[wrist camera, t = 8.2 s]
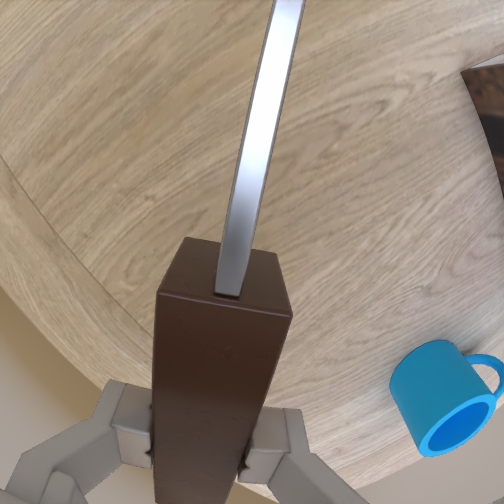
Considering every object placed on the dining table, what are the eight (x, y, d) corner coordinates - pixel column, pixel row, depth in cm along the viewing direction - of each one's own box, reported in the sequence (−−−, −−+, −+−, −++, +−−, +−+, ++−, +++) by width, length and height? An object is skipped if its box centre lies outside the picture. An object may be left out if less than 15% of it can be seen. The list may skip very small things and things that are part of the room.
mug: (390, 410, 29) (415, 467, 22) (388, 358, 26) (422, 422, 19) (479, 369, 28) (513, 414, 21) (488, 314, 26) (534, 359, 18)
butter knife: (165, 444, 11) (154, 503, 8) (270, -111, 4) (279, -171, 1) (223, 453, 11) (221, 513, 9) (350, -93, 5) (382, -145, 2)
